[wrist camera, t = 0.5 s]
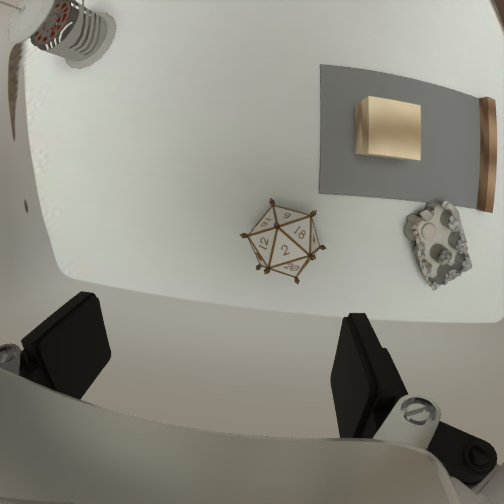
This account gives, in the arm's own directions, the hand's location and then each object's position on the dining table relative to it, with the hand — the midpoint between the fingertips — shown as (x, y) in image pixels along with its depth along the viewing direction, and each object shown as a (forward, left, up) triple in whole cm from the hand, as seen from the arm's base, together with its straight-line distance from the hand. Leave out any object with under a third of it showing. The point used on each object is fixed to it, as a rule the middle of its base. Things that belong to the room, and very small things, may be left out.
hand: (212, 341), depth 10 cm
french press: (-27, -25, -27) cm, 46 cm away
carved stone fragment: (+3, +24, -27) cm, 36 cm away
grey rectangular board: (-10, +19, -27) cm, 34 cm away
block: (-10, +14, -26) cm, 32 cm away
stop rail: (-10, +31, -27) cm, 43 cm away
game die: (+3, +3, -27) cm, 27 cm away
